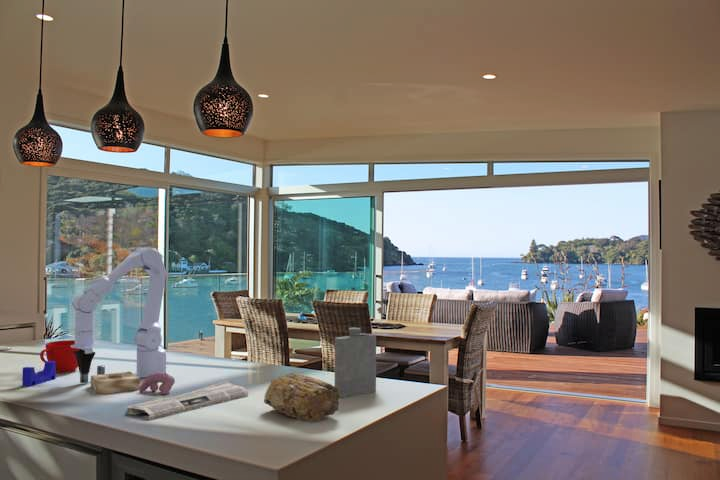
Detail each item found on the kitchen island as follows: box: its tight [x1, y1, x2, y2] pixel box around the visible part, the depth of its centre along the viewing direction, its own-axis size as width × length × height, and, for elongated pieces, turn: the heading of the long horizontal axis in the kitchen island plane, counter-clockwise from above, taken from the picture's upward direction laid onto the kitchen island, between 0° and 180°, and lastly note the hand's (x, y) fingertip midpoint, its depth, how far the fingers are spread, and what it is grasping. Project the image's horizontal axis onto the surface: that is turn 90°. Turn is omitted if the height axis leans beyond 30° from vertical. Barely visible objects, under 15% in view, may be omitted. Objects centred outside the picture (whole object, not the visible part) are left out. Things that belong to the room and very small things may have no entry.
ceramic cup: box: [39, 339, 79, 373], centre depth 223 cm, size 13×17×10 cm
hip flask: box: [334, 327, 377, 400], centre depth 191 cm, size 16×4×20 cm, turn 133°
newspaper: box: [126, 380, 249, 421], centre depth 178 cm, size 35×12×4 cm, turn 144°
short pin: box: [96, 365, 106, 375], centre depth 209 cm, size 2×2×4 cm
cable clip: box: [21, 360, 57, 388], centre depth 205 cm, size 12×4×6 cm, turn 170°
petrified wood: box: [263, 372, 340, 422], centre depth 166 cm, size 19×13×10 cm
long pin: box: [79, 370, 89, 384], centre depth 203 cm, size 2×2×8 cm
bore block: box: [90, 371, 141, 395], centre depth 197 cm, size 12×12×4 cm
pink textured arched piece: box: [138, 372, 176, 396], centre depth 192 cm, size 10×5×7 cm, turn 71°
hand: (84, 373), depth 203 cm, fingers closed on long pin, 2 cm apart
